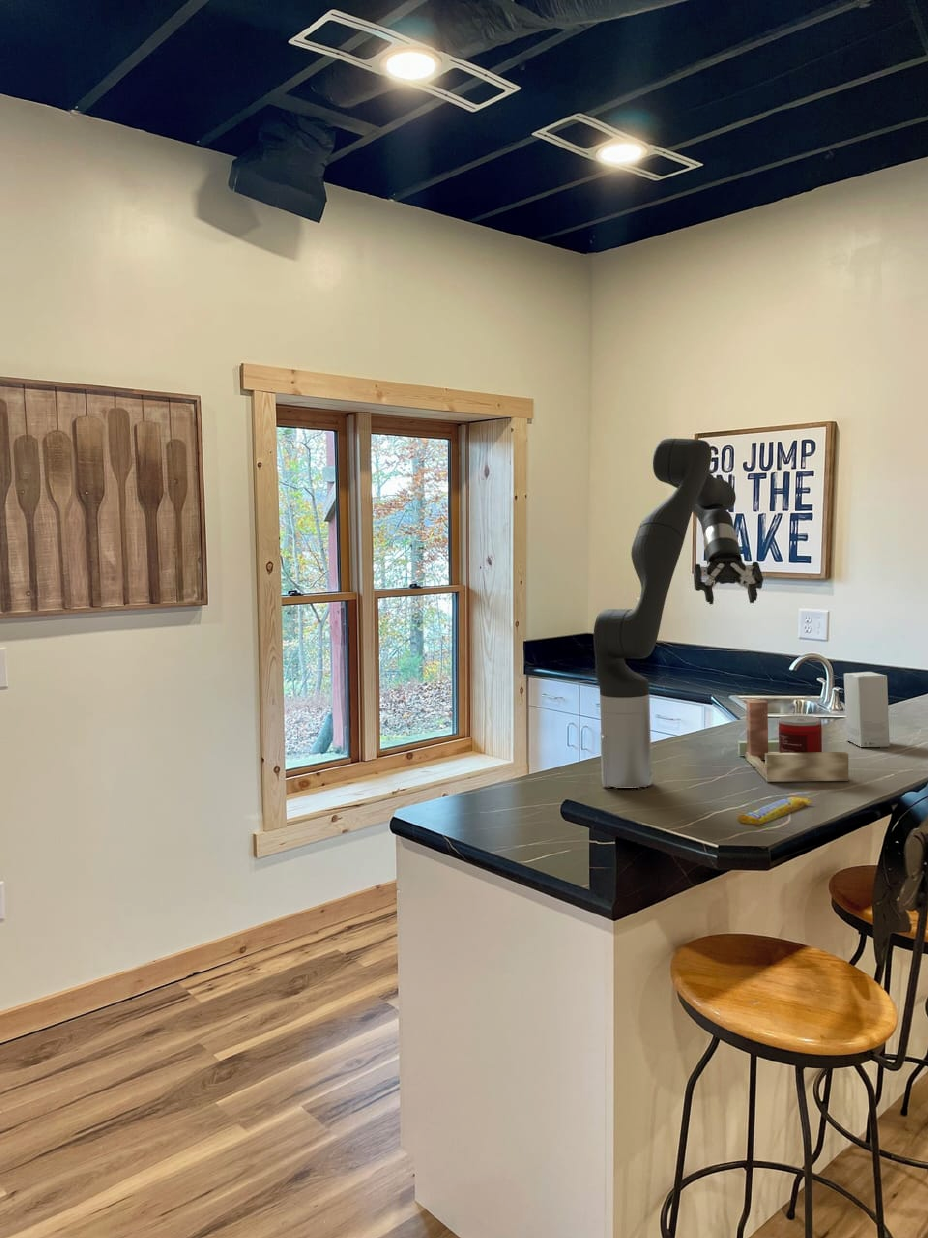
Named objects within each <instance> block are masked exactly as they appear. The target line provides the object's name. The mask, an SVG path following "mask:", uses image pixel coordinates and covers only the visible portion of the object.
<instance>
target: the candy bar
mask: <svg viewBox="0 0 928 1238" xmlns="http://www.w3.org/2000/svg"><path fill="white" fill-rule="evenodd" d="M811 802H812V800H811V799H810V798H805V797H799V796H789V797H788V798H786V797H785V798H783V799H780V800H777V801H774V802H772V803H769V804H766V805H764V806H762V807H760V808H757V809H756V810H752V811H751V812H747V813H746V814H743V813H739V815H738V817H737V821H739V822H740V823H742V824H748V825H753V826H754V825H755V826H759V825H762V824H765V823H768V822H770V821H772V820H775V819H778V818H781V817H783V816H785V815H788V814H791V813H792V812H795V811H797V810H800V809H802V808H804V806H806V805H809V804H810V803H811Z"/></svg>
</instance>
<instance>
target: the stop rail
mask: <svg viewBox="0 0 928 1238" xmlns="http://www.w3.org/2000/svg"><path fill="white" fill-rule="evenodd" d="M746 752H747V740H737V755H738V754H739V755H746ZM768 752H779V739H777V740H772V739H770V740H769V739H768ZM739 755H738V756H739Z"/></svg>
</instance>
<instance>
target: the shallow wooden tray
mask: <svg viewBox="0 0 928 1238" xmlns="http://www.w3.org/2000/svg"><path fill="white" fill-rule="evenodd" d="M745 704H746V706H745V708H746V741H747V752H746V757H745V759H746V760H747V761H748V762H749V764H750V765H751V764H752V765H751V766H752V767H753V768H754V767H755V768H754V769H755V770H756V771H757V772H758V774H759V775H760V776H761V777H762V778H763V779H764V780H765V781H766V782H767V783H769V782H838V781H839V782H840V781H841V782H844V781H845V782H848V781H849V777H850V776H849V775H850V774H849V753H848V752H847V751H830V752H829V751H825V752H823V751H822V752H812V753H779V752H768V740H769V726H768V725H769V715H768V712H769V709H768V708H769V707H768V705H769V704H768V701H766V700H765V699H746V702H745ZM761 760H765V761H761Z"/></svg>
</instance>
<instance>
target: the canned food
mask: <svg viewBox="0 0 928 1238" xmlns="http://www.w3.org/2000/svg"><path fill="white" fill-rule="evenodd" d="M822 730H823V728H822V719H821V718H819V717H817V716H812V715H801V714H799V715H798V714H797V715H796V714H794V715H785V716H781V717H779V719H778V740H779V753H812V752H823V749H822V748H823V747H822V746H823V743H822V741H823V740H822V739H823V738H822V737H823V736H822V735H823V733H822Z"/></svg>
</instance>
